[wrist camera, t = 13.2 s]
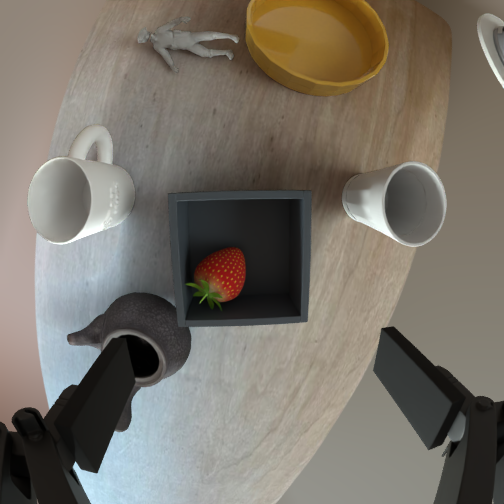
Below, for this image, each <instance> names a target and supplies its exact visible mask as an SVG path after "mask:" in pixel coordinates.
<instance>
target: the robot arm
mask: <svg viewBox="0 0 504 504" xmlns="http://www.w3.org/2000/svg"><path fill="white" fill-rule="evenodd" d="M493 41H494V45H495V48H496V51H497V53H498V56H499V58H500V60H501V62H502V64H503V66H504V26H499V27H498V28H496V29H495V30H494V31H493ZM373 371H374V372H375V374H376V375H377V377H378V378H379V380H380V381H381V382H382V384H383V385H384V386H385V388H386V389H387V391H388V392H389V394H390V395H391V396H392V398H393V399H394V401H395V402H396V404H397V405H398V406H399V408H400V409H401V411H402V412H403V414H404V415H405V416H406V418H407V419H408V421H409V422H410V424H411V425H412V427H413V428H414V430H415V431H416V432H417V434H418V435H419V437H420V438H421V440H422V441H423V443H424V444H425V446H426V447H427V449H428V450H430V449H433V448H435V447H437V446H440V445H442V444H443V442H444V440H445V438H446V437H447V435H448V436H449V438H450V439H451V441H450V442H449V444H448V446H447V448H446V449H445V451H444V452H443V454H442V456H444V455H445V454H446V453H447V454H446V459H445V463H444V467H443V472H442V476H441V480H440V484H439V487H438V490H437V494H436V497H435V501H434V504H492V499H493V502H494V504H504V401H501V402H495V403H494V402H493V400H491V399H490V398H488V397H484V396H477V397H475V396H473V394H472V393H471V392H470V391H469V390H468V389H467V388H465V386H463V385H462V384H461V383H460V382H458V380H457V379H456V378H455V377H453V375H452V374H451V373H450V372H449V371H448V370H446V369H445V368H443V367H441V366H434V365H433V364H432V363H431V362H430V361H429V360H428V359H427V358H426V357H425V356H424V355H423V354H422V353H421V352H420V351H419V350H418V349H417V348H416V347H415V346H414V345H413V344H412V343H411V342H410V341H408V340H407V339H406V338H405V337H404V336H403V335H402V334H401V333H400V332H399V331H398V330H397V329H396V328H395V327H386V328H382V329H381V334H380V340H379V345H378V350H377V355H376V360H375V364H374V369H373ZM135 383H136V380H135V376H134V372H133V368H132V364H131V360H130V356H129V351H128V347H127V342H126V338H112V339H111V340H110V341H109V343H108V344H107V346H106V347H105V348H104V350H103V351H102V352H101V354H100V355H99V357H98V358H97V359H96V361H95V362H94V364H93V365H92V366H91V368H90V369H89V371H88V372H87V374H86V375H85V376H84V378H83V379H82V381H81V382H80V384H79V385H73V384H72V385H70V386H69V387H67V388H66V389H65V390H63V392H62V393H61V395H60V396H59V399H57V400H56V402H55V405H54V404H53V406H52V407H51V409H50V410H49V412H48V413H47V415H46V416H45V417H44V419H43V418H42V416H41V414H40V412H39V411H38V410H37V409H35V408H31V407H29V408H23V409H20V410H18V411H17V412H16V413H15V414H14V416H13V417H12V423H13V425H14V427H15V428H16V430H17V432H11V431H8V429H7V427H6V426H5V424H3V423H2V422H0V504H37V499H38V502H39V504H91V503H90V501H89V499H88V497H87V495H86V493H85V491H84V489H83V487H82V485H81V483H80V481H79V479H78V476H77V474H76V472H75V470H74V469H73V465H74V463H75V461H76V462H77V464H78V466H79V467H80V469H82V470H86V471H89V472H93V473H98V470H99V468H100V465H101V463H102V460H103V458H104V455H105V453H106V450H107V448H108V445H109V443H110V440H111V438H112V436H113V433H114V431H115V428H116V426H117V424H118V421H119V419H120V417H121V414H122V412H123V410H124V407H125V405H126V403H127V401H128V398H129V396H130V394H131V392H132V389H133V387H134V385H135Z"/></svg>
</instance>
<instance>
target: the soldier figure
mask: <svg viewBox="0 0 504 504" xmlns="http://www.w3.org/2000/svg"><path fill="white" fill-rule="evenodd" d="M190 19H191V18H190V17H179V18H177V19H173V20H172V21H170V22H168V23H166V24H164V25H162V26H160V27H159V28H157V30H156V31H155V33H154V34H152V35H151V40H150V41H151V42H152V43H153V49H155V50H156V51H157V52H159V53H160V54H161V55H162V56H163V58H164V59H165V61H166V62H167V64H168V65H169V67H170V68H171V69H172V70H173V71H174V72H175V73H177V72H178V70H177V69H178V68H176V67H175V66H174V63H173V61H172V58H171V56H170V55H169V53H168V51H167V50H166V48H169V49H172V50H176V49H183V50H186V49H187V50H189V51H191V52H193V53H195V54H197V55H199V56H202V57H209V58H211V57H213V56H218V55H224V54H226V55H227V56H228V57H229V59H230V60H232V59H233V57H234V54H232V52H233V51H232V50H211V49H207V48H205V47H204V46H202V45H200V44H199V43H198V42H200V41H204V40H206V41H210V40H213V39H224V38H230V39H232V40H234V42H235V43H238V41H239V37H238V35H231V34H226V33H220V32H210V31H204V32H194V33H191V32H190V31H187V32H185V31H184V32H182V31H181V30H174V32H173V31H171V30H169V29H171V28H172V27H174V26H176V25H178V24H180V23H181V22H183V23H186V22H188V21H190ZM187 20H188V21H187ZM185 21H186V22H185ZM186 24H187V23H186ZM151 33H152V32H151ZM151 33H150V32H147V30H146V27H145V28H143V29H142V30H141V31H140V32H139V34H138V41H139V42H138V43H144V42H146V41H148V39H149V37H150V34H151ZM175 70H176V71H175Z"/></svg>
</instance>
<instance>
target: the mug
mask: <svg viewBox="0 0 504 504" xmlns="http://www.w3.org/2000/svg"><path fill="white" fill-rule="evenodd" d="M94 142H95V144H96V148H97V161H92V160H86V156H87V154H88V151H89V149H90V147H91V146H92V144H93V143H94ZM112 162H113V143H112V139H111V136H110V134H109V132H108V130H107V129H106V128H105V127H104V126H101V125H99V124H94V125H90V126H87V127H86V128H84V129H83V130H82V131H81V132H80V133H79V134H78V136H77V137H76V138H75V140H74V142H73V143H72V145H71V148H70V150H69V153H68V156H59V157H55V158H52V159H50V160H48V161H47V162H45V163H44V164H43V165H42V166H41V167H40V168H39V169H38V170H37V172H36V173H35V175H34V177H33V179H32V180H31V184H30V186H29V191H28V198H27V206H28V213H29V217H30V220H31V222H32V224H33V226H34V228H35V229H36V231H37V232H38V233H39V234H40V235H41V236H42V237H43V238H44V239H46V240H47V241H49V242H52V243H55V244H66V243H69V242H72V241H75V240H77V239H80V238H83V237H85V236H88V235H91V234H93V233H96V232H99V231H102V230H106V229H107V228H110V227H113V226H116V225H118V224H120V223H121V222H123V221H124V220H125V219H126V218H127V217H128V215H129V214H130V212H131V210H132V208H133V206H134V202H135V187H134V183H133V181H132V179H131V177H130V175H129V174H128V173H127V171H125V170H124V169H123V168H122V167H120V166H118V165H114V164H112Z"/></svg>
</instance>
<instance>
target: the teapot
mask: <svg viewBox="0 0 504 504" xmlns="http://www.w3.org/2000/svg"><path fill="white" fill-rule="evenodd" d="M112 338H126V342H127V347H128V351H129V356H130V360H131V364H132V368H133V372H134V376H135V380H136V383H135V385H134V387H133V389H132V392H131V394H130V396H129V398H128V401H127V403H126V405H125V407H124V410H123V412H122V414H121V417H120V419H119V421H118V424H117V426H116V428H115V431H117V432H123V431H125V430H127V429H128V427H129V425H130V422H131V418H132V414H131V401H132V399H133V396H134V395H135V394H136V392H137V391H138V390H139V389H140V388H141V387H149V386H153V385H155V384H157V383H158V382H160V381H161V380H162V379H165V378H167V377H169V376H171V375H173V374H175V373H176V372H177V371H178V370H179V369H180V368H181V367H182V366H183V365H184V363H185V362H186V360H187V358H188V356H189V352H190V349H191V334H190V330H189V327H178V320H177V311H176V308H175V307H174V306H173V305H172V304H171V303H170V302H168V301H167V300H165V299H164V298H161V297H159V296H157V295H154V294H149V293H136V292H135V293H130V294H127V295H124V296H121V297H120V298H118V299H116V300H115V301H114V302H113V303H112V304H111V305H110V306H109V308H108V309H107V311H106V312H105V313H104V314H102V315H99V316H98V317H96V318H95V319H94V320H93V321H92V322H91V323H90V324H89V325H88V326H87V327H86V328H84V329H83V330H81V331H78V332H75V333H71V334H68V336H67V340H68V342H69V344H70V345H77V346H83V345H89V346H93V347H95V348H98V349H100V350H101V352H102V351H103V350H104V348H105V347H106V346H107V344H108V343H109V341H110V340H111V339H112Z"/></svg>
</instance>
